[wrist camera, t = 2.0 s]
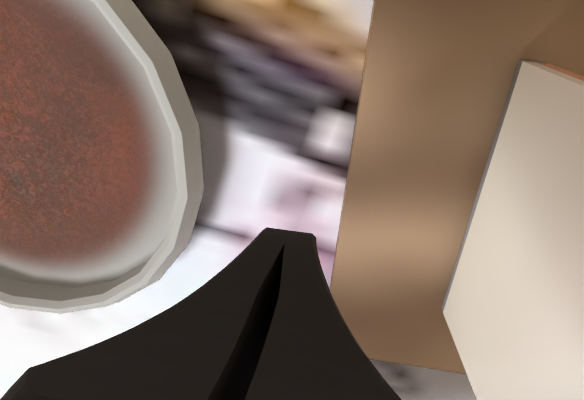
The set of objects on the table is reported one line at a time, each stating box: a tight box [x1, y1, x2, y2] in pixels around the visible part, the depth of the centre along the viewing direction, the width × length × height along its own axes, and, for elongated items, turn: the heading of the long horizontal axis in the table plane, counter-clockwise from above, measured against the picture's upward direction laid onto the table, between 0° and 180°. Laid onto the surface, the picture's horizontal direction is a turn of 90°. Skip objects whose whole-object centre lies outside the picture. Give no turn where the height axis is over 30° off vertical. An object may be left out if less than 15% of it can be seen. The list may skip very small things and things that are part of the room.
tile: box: [441, 59, 584, 400], centre depth 12 cm, size 10×9×1 cm
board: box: [330, 0, 584, 374], centre depth 16 cm, size 18×16×1 cm
